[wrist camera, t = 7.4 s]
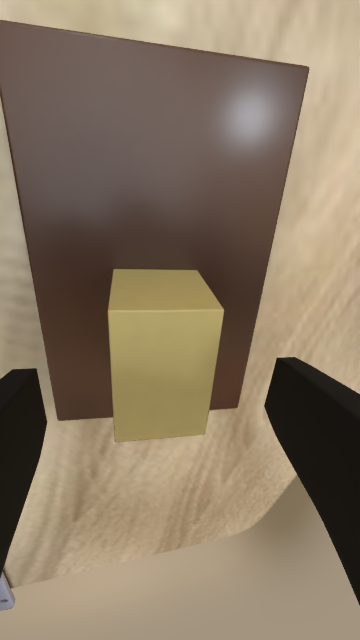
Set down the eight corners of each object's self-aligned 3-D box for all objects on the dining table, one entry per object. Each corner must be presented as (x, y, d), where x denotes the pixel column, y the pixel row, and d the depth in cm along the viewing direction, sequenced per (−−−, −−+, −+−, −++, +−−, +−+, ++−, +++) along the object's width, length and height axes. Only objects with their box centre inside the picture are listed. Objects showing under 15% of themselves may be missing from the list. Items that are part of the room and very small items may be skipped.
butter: (187, 372, 14) (205, 435, 10) (117, 376, 13) (114, 443, 10) (197, 269, 11) (224, 309, 8) (113, 268, 11) (107, 310, 8)
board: (232, 395, 16) (238, 408, 15) (61, 406, 14) (57, 421, 14) (294, 74, 10) (311, 65, 9) (0, 32, 8) (-16, 16, 7)
